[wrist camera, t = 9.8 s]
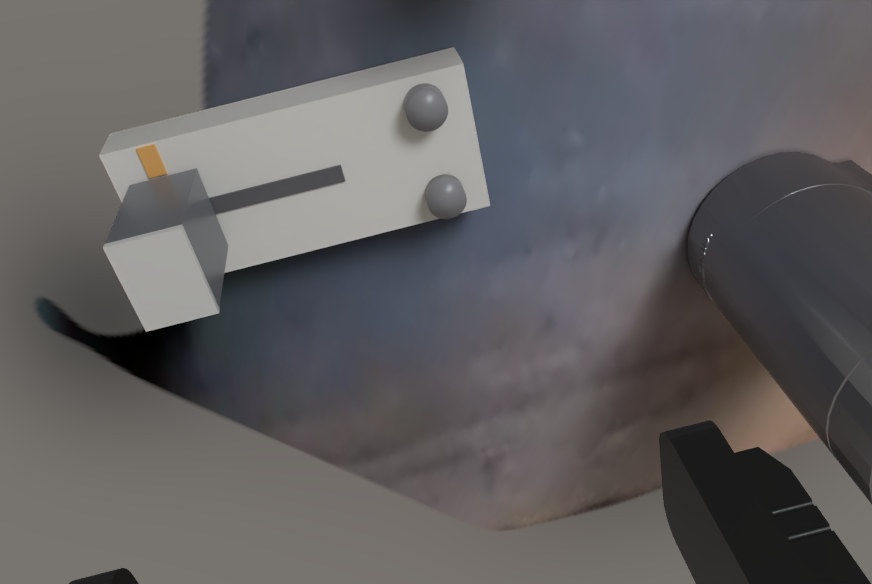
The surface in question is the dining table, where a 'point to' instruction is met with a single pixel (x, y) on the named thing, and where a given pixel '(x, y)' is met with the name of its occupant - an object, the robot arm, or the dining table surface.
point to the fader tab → (169, 250)
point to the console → (321, 158)
